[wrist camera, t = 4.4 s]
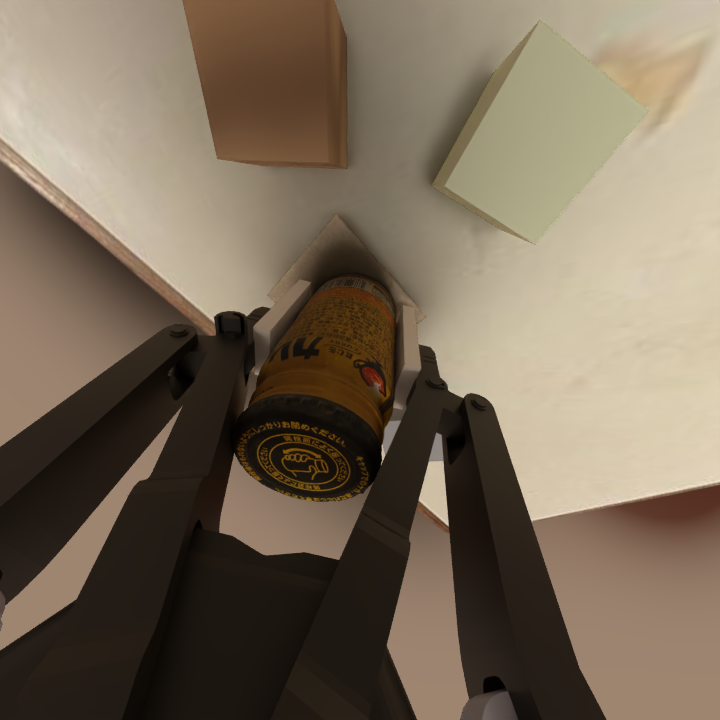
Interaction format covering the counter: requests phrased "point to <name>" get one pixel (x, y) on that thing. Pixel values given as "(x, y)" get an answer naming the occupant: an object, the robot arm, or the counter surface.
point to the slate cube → (392, 428)
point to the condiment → (327, 376)
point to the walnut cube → (273, 80)
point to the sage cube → (537, 136)
